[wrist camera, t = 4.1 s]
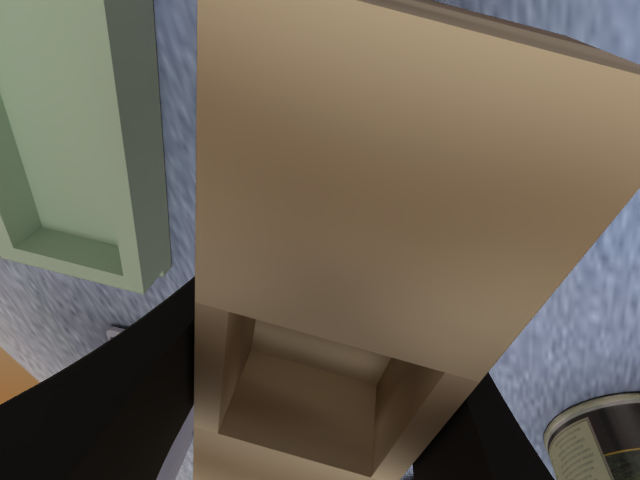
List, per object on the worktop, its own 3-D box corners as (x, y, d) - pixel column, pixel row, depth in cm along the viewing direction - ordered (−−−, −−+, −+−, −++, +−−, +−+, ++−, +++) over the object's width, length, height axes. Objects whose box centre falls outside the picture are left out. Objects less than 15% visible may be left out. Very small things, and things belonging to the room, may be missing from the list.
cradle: (171, 266, 23) (144, 301, 20) (45, 234, 23) (4, 264, 21) (142, -152, 12) (78, -183, 10) (-91, -203, 12) (-210, -246, 10)
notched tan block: (357, 422, 15) (345, 544, 12) (237, 387, 15) (192, 500, 12) (565, 35, 7) (716, 94, 3) (293, -36, 7) (197, -42, 4)
